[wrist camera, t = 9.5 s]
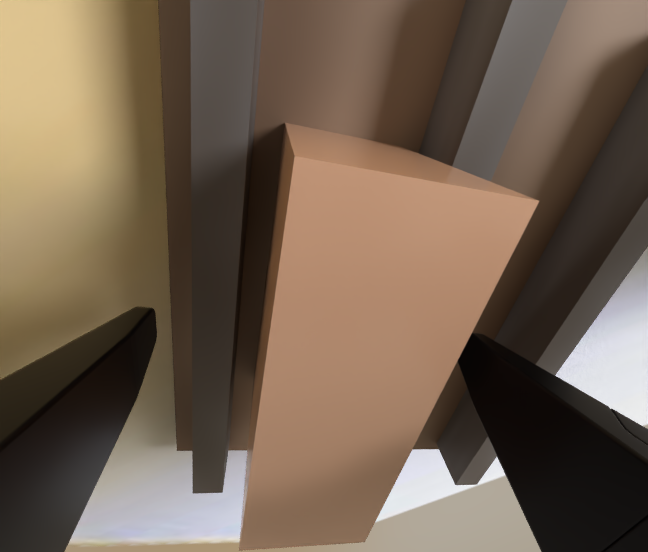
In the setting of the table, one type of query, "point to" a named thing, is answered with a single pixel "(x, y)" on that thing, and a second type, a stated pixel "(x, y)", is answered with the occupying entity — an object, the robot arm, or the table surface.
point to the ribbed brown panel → (411, 133)
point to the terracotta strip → (361, 325)
